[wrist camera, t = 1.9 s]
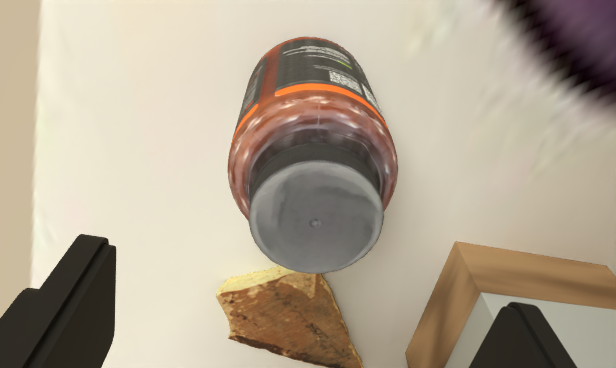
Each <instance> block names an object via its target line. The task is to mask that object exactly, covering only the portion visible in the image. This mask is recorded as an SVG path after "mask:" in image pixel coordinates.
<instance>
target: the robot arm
mask: <svg viewBox="0 0 616 368" xmlns="http://www.w3.org/2000/svg"><path fill="white" fill-rule="evenodd" d="M115 285H116V247H115V246H113V245H109V241H108V239H107V238H104V237H97V236H91V235H84V234H80V235H79V236H78V237H77V238H76V239H75V241H74V242H73V244H72V245H71V246H70V248H69V249H68V250H67V252H66V253H65V255H64V256H63V257H62V259H61V260H60V261H59V263H58V264H57V266H56V267H55V268H54V270H53V271H52V272H51V274H50V275H49V277H48V278H47V279H46V281H45V282H44V283H43V285H42V286H41V288H40V289H33V288H26V289H25V290H23V291H22V292H21V293H20V294H19V295H18V296H17V298H16V299H15V300H14V301H13V303H12V304H11V305H10V307H9V308H8V309H7V311H6V312H5V313H4V314H3V316H2V317H1V318H0V368H101V367H102V365H103V362H104V360H105V358H106V356H107V354H108V351H109V349H110V347H111V344H112V341H113V337H114V330H115ZM469 368H577V366H576V365H575V363H574V362H573V360H572V359H571V357H570V355H569V354H568V352H567V351H566V349H565V348H564V346H563V345H562V343H561V341H560V340H559V338H558V337H557V335H556V334H555V332H554V331H553V329H552V327H551V326H550V324H549V323H548V321H547V320H546V318H545V317H544V315H543V313H542V312H541V310H540V309H539V308H538V307H537V306H535V305H532V304H526V303H520V302H510V303H509V304H508V305H507V306H503V307H502V308H501V309H500V311H499V312H498V314H497V316H496V318H495V320H494V322H493V323H492V325H491V327H490V329H489V331H488V333H487V335H486V336H485V338H484V340H483V342H482V344H481V346H480V347H479V349H478V351H477V353H476V355H475V357H474V359H473V360H472V362H471V364H470V366H469Z"/></svg>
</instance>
